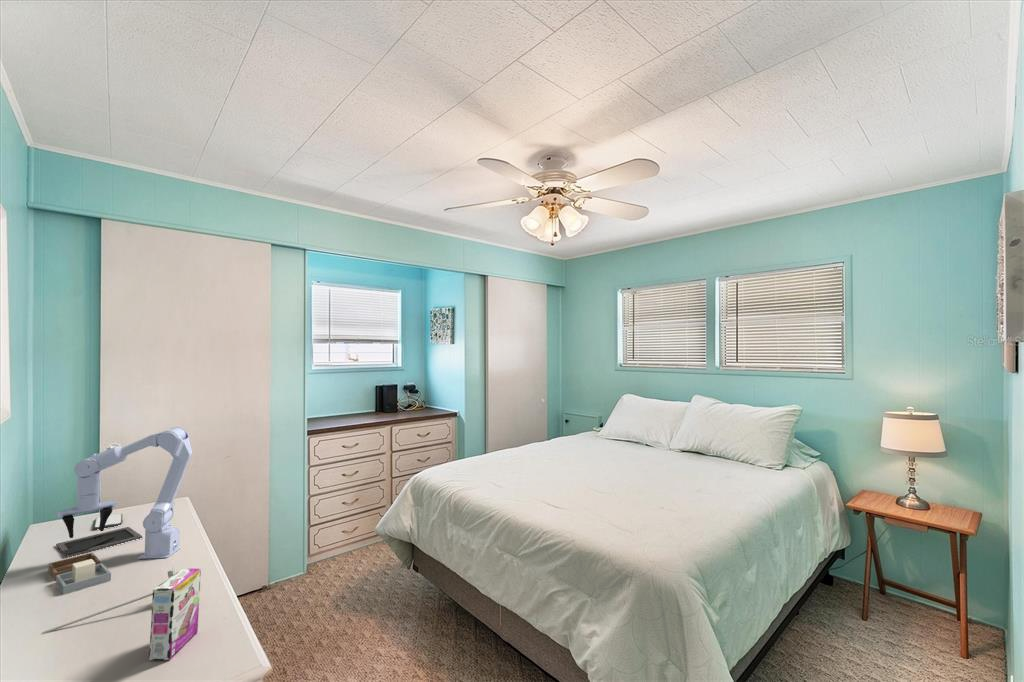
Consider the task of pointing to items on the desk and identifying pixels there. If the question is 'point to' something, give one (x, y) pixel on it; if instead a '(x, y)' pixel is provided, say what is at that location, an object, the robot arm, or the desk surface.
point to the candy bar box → (174, 614)
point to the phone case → (109, 521)
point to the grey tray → (68, 586)
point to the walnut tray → (69, 564)
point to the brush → (170, 574)
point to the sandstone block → (83, 570)
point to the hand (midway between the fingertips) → (86, 533)
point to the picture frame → (97, 541)
